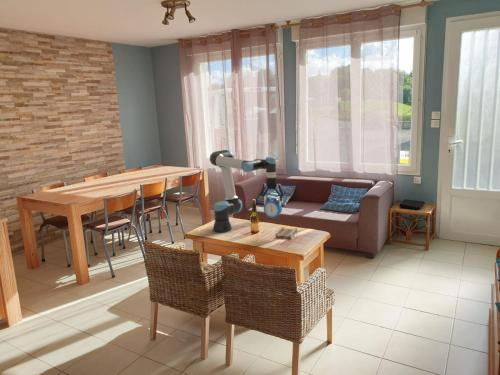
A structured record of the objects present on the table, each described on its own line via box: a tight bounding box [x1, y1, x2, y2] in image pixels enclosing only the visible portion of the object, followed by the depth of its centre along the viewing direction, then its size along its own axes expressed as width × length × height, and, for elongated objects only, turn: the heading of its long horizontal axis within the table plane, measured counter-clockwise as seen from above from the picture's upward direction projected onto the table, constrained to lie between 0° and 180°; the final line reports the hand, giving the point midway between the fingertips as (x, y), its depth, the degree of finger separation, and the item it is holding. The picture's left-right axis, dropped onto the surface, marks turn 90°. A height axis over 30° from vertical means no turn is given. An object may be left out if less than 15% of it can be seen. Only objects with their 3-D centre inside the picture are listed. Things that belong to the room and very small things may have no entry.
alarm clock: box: [263, 197, 283, 219], centre depth 313 cm, size 13×6×15 cm, turn 62°
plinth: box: [275, 226, 298, 240], centre depth 315 cm, size 12×18×4 cm
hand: (272, 204), depth 312 cm, fingers closed on alarm clock, 12 cm apart
